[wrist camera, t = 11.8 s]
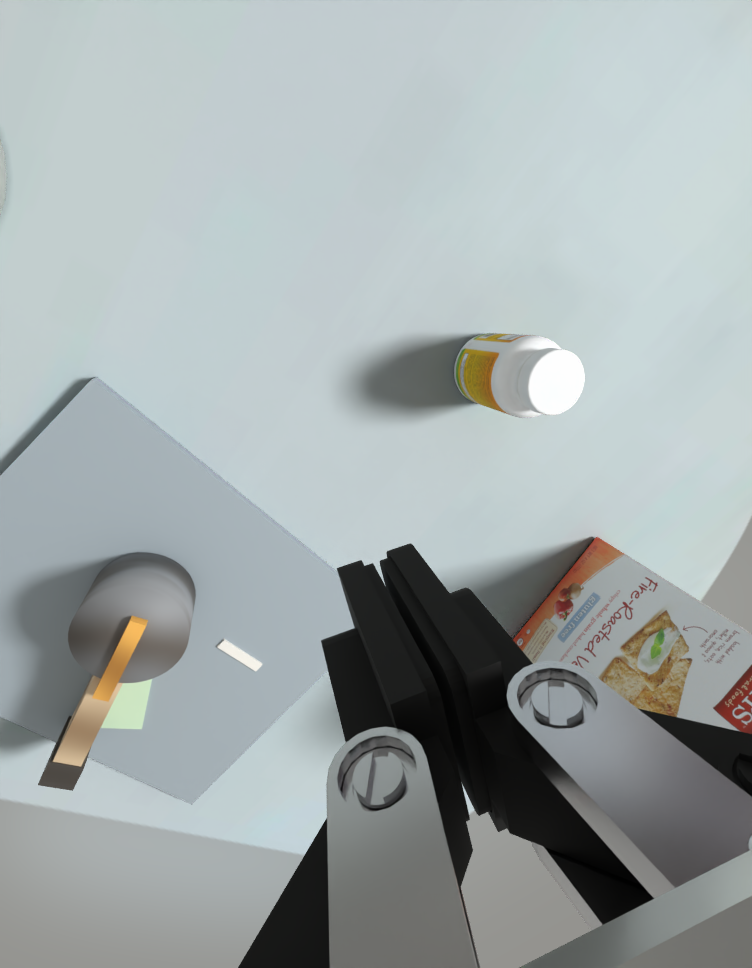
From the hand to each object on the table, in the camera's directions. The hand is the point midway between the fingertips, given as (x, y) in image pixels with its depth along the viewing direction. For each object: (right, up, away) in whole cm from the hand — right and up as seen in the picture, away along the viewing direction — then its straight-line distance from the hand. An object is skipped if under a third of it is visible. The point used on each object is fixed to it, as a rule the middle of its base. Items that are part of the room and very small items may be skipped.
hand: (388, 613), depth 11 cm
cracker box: (+18, -9, +38) cm, 43 cm away
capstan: (-19, -9, +26) cm, 34 cm away
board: (-18, -8, +27) cm, 33 cm away
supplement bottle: (+8, +12, +28) cm, 32 cm away
